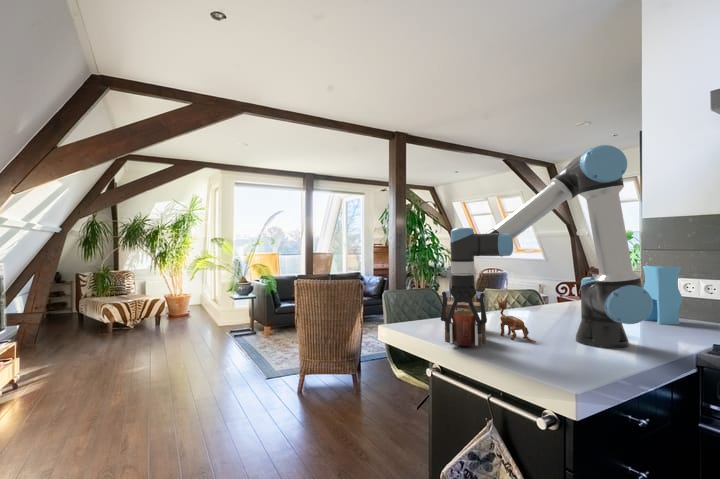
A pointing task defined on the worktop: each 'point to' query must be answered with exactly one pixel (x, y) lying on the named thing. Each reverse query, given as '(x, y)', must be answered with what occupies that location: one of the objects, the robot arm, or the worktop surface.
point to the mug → (463, 328)
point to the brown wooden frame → (465, 306)
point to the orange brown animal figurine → (512, 323)
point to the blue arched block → (663, 293)
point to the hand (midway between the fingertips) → (464, 343)
